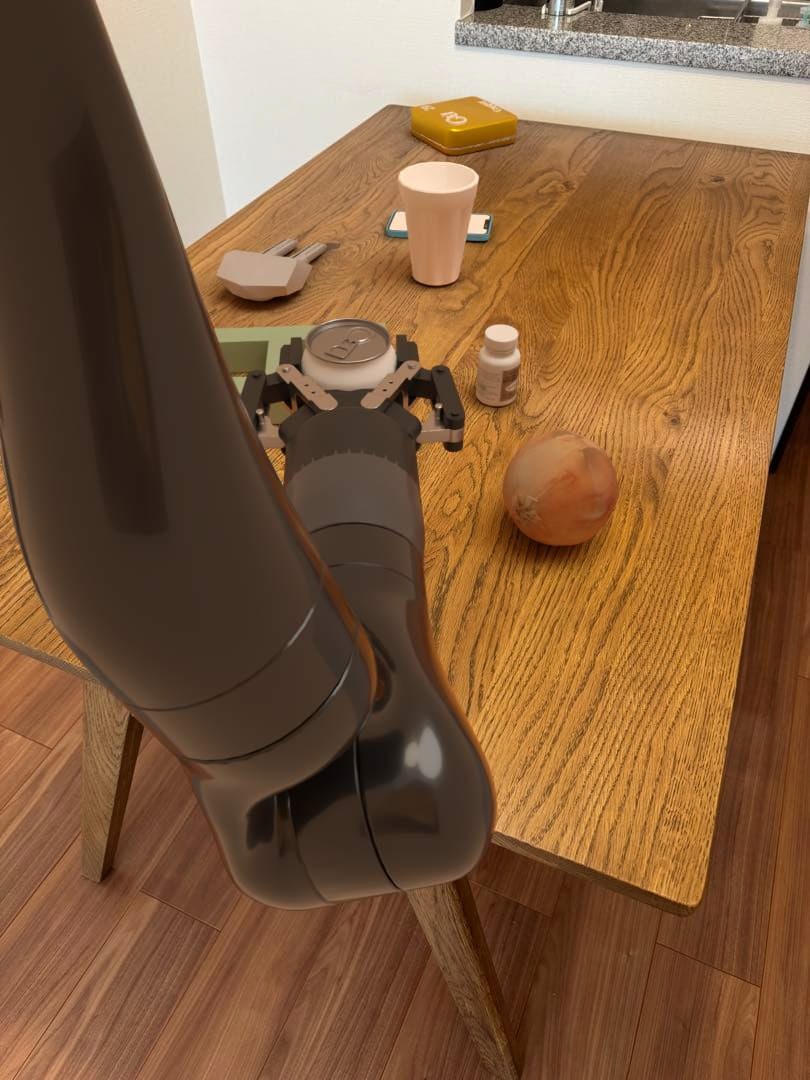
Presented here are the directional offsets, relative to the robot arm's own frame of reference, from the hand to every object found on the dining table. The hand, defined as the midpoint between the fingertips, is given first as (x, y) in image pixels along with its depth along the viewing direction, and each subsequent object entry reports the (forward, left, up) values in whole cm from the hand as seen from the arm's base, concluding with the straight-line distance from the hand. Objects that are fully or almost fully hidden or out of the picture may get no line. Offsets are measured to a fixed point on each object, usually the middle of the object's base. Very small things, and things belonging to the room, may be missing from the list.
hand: (349, 347), depth 54 cm
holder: (-8, +26, -20) cm, 34 cm away
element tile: (+21, +105, -21) cm, 109 cm away
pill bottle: (+15, +23, -21) cm, 35 cm away
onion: (+17, +2, -21) cm, 27 cm away
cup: (+11, +51, -21) cm, 56 cm away
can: (0, -2, -10) cm, 10 cm away
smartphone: (+13, +66, -21) cm, 70 cm away
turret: (-10, +52, -21) cm, 57 cm away
